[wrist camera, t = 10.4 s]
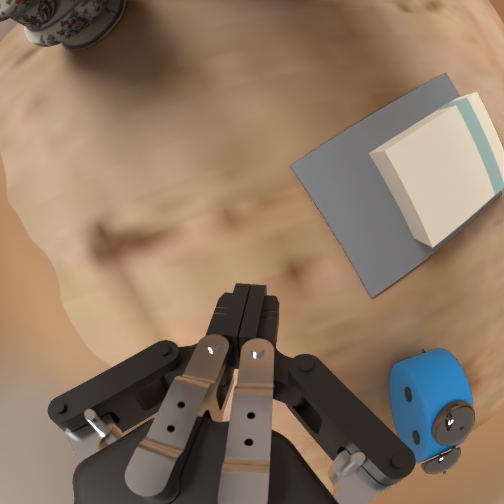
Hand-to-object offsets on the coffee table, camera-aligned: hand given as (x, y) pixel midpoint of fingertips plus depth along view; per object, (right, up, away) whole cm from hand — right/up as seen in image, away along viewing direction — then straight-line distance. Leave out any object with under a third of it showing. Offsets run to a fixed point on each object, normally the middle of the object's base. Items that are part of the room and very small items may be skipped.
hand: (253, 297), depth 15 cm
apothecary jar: (-19, +31, +8) cm, 37 cm away
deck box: (+14, +7, +10) cm, 18 cm away
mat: (+17, +10, +12) cm, 23 cm away
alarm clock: (+20, -14, +18) cm, 30 cm away
